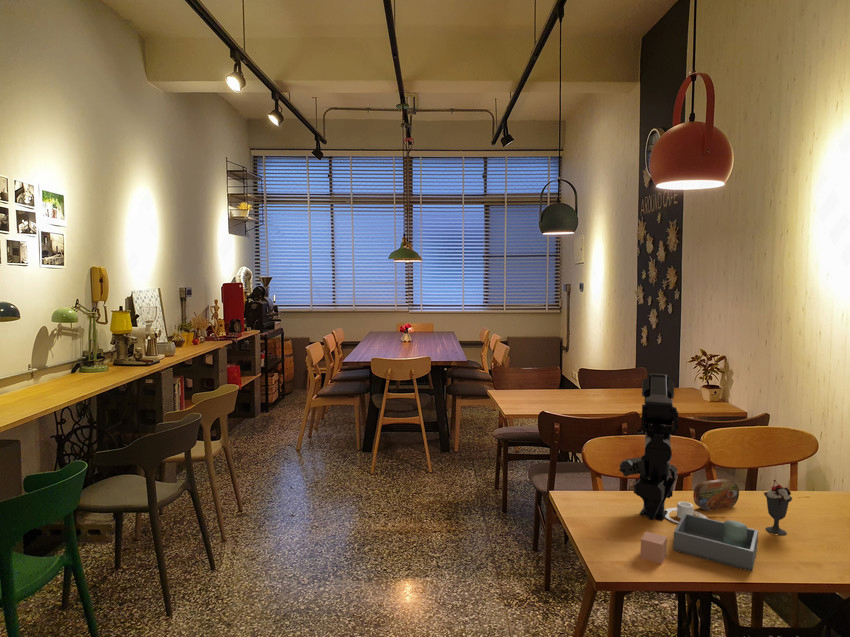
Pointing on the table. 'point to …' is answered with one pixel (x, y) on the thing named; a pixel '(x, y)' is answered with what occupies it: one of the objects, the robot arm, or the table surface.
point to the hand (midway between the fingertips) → (655, 512)
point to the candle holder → (683, 511)
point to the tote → (713, 542)
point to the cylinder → (735, 533)
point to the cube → (653, 547)
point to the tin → (716, 494)
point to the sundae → (777, 506)
